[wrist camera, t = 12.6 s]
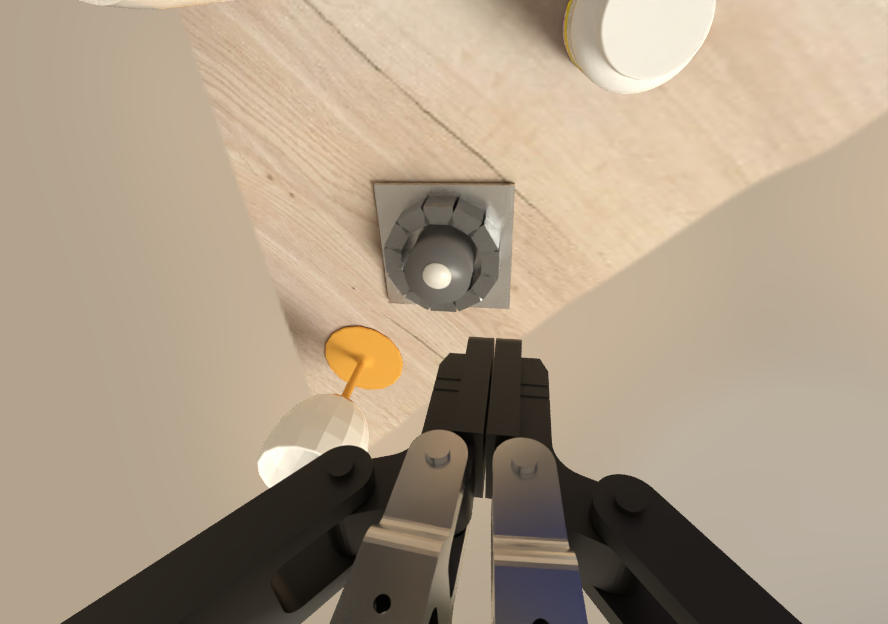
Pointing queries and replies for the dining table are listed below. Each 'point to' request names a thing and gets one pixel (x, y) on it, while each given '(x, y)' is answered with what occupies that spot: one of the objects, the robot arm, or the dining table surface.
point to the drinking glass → (151, 3)
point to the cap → (440, 264)
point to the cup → (332, 405)
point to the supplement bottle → (634, 39)
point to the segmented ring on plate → (463, 207)
